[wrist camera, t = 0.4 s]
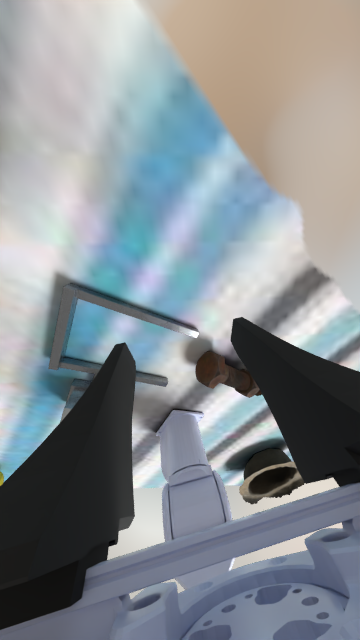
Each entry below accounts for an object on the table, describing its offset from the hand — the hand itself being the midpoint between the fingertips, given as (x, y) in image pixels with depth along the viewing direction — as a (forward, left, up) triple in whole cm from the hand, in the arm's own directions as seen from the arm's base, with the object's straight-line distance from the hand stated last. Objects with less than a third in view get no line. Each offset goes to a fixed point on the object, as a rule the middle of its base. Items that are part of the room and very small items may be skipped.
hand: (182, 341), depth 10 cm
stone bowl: (-44, -60, -11) cm, 75 cm away
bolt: (-9, -18, -11) cm, 23 cm away
